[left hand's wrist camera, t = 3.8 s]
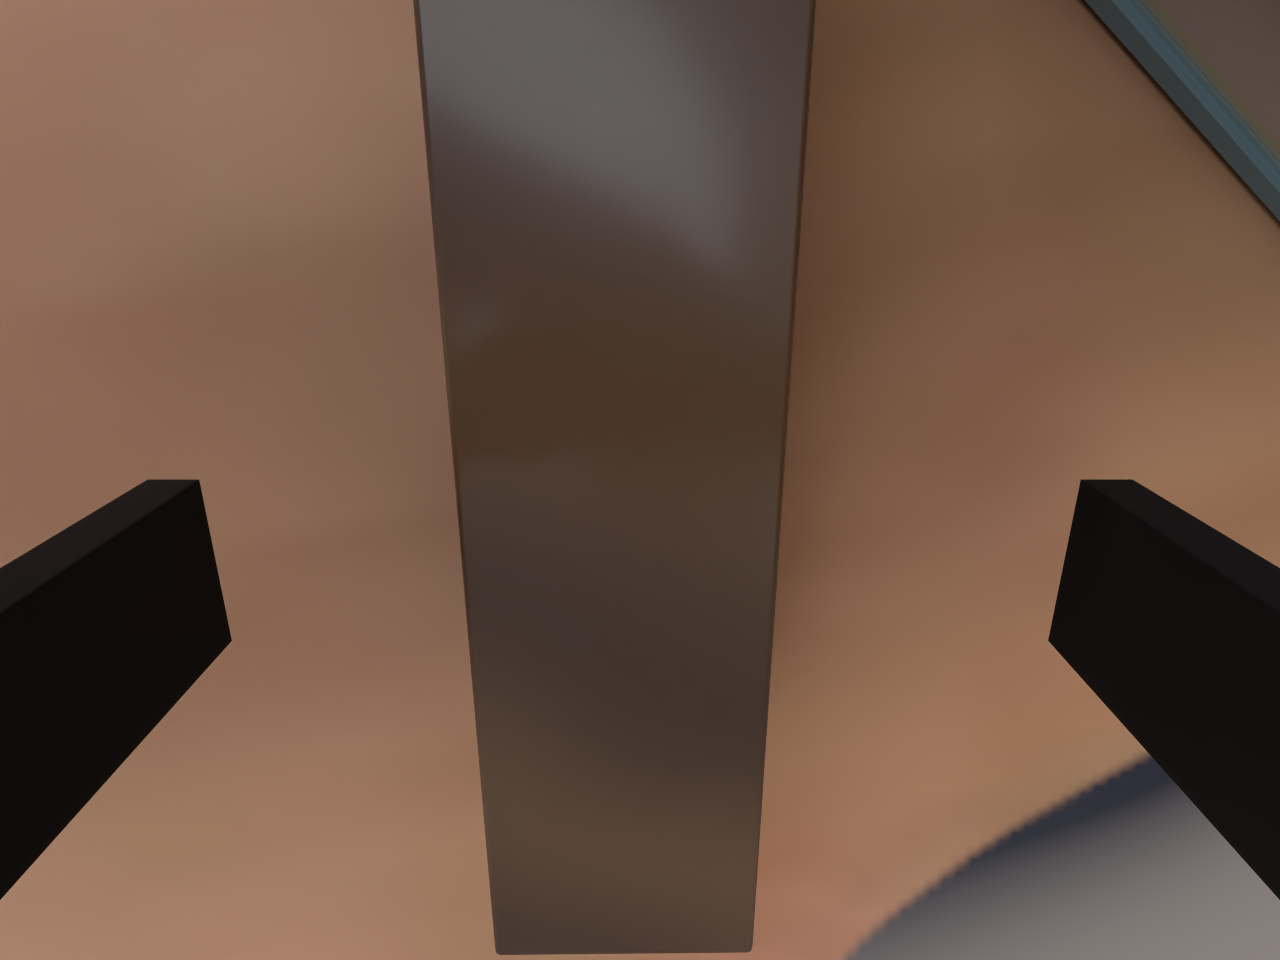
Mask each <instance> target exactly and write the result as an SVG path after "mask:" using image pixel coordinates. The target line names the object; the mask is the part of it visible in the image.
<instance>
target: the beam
mask: <svg viewBox="0 0 1280 960" xmlns="http://www.w3.org/2000/svg"><path fill="white" fill-rule="evenodd" d="M413 4H414V16H415V28H416V39H417V51H418V62H419V74H420V85H421V97H422V108H423V120H424V131H425V143H426V154H427V166H428V178H429V189H430V201H431V212H432V224H433V235H434V247H435V258H436V270H437V281H438V293H439V304H440V316H441V328H442V339H443V351H444V362H445V374H446V385H447V397H448V408H449V420H450V431H451V443H452V454H453V466H454V478H455V489H456V501H457V512H458V524H459V535H460V547H461V558H462V570H463V581H464V593H465V604H466V616H467V628H468V639H469V651H470V662H471V674H472V685H473V697H474V708H475V720H476V731H477V743H478V754H479V766H480V778H481V789H482V801H483V812H484V824H485V835H486V847H487V858H488V870H489V881H490V893H491V905H492V916H493V928H494V939H495V949H496V952H497V954H499V955H536V954H629V953H723V952H749V951H751V948H752V942H753V928H754V913H755V898H756V883H757V868H758V853H759V838H760V824H761V809H762V794H763V779H764V764H765V749H766V734H767V719H768V705H769V690H770V675H771V660H772V645H773V630H774V615H775V600H776V586H777V571H778V556H779V541H780V526H781V511H782V496H783V481H784V467H785V452H786V437H787V422H788V407H789V392H790V377H791V363H792V348H793V333H794V318H795V303H796V288H797V273H798V258H799V244H800V229H801V214H802V199H803V184H804V169H805V154H806V139H807V125H808V110H809V95H810V80H811V65H812V50H813V35H814V20H815V6H816V0H413Z"/></svg>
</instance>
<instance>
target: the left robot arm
mask: <svg viewBox="0 0 1280 960" xmlns="http://www.w3.org/2000/svg"><path fill="white" fill-rule="evenodd" d="M231 641H232V640H231V635H230V630H229V625H228V620H227V615H226V610H225V605H224V600H223V595H222V590H221V585H220V580H219V575H218V571H217V566H216V561H215V556H214V551H213V546H212V541H211V536H210V531H209V526H208V521H207V516H206V511H205V506H204V501H203V496H202V492H201V487H200V482H199V480H146V481H145V482H143V483H141V484H140V485H138V486H136V487H135V488H133V489H131V490H130V491H128V492H126V493H125V494H123V495H121V496H120V497H118V498H116V499H115V500H113V501H111V502H110V503H108V504H106V505H105V506H103V507H101V508H100V509H98V510H96V511H95V512H93V513H91V514H90V515H88V516H86V517H85V518H83V519H81V520H80V521H78V522H76V523H75V524H73V525H71V526H70V527H68V528H66V529H65V530H63V531H61V532H60V533H58V534H57V535H55V536H53V537H52V538H50V539H48V540H47V541H45V542H43V543H42V544H40V545H38V546H37V547H35V548H33V549H32V550H30V551H28V552H27V553H25V554H23V555H22V556H20V557H18V558H17V559H15V560H13V561H12V562H10V563H8V564H7V565H5V566H3V567H2V568H0V899H1V898H2V897H3V896H4V895H5V894H6V893H7V892H8V891H9V889H10V888H11V887H12V886H13V885H14V884H15V883H16V882H17V880H18V879H19V878H20V877H21V876H22V875H23V874H24V873H25V871H26V870H27V869H28V868H29V867H30V866H31V865H32V864H33V863H34V861H35V860H36V859H37V858H38V857H39V856H40V855H41V854H42V852H43V851H44V850H45V849H46V848H47V847H48V846H49V845H50V843H51V842H52V841H53V840H54V839H55V838H56V837H57V836H58V835H59V833H60V832H61V831H62V830H63V829H64V828H65V827H66V826H67V824H68V823H69V822H70V821H71V820H72V819H73V818H74V817H75V815H76V814H77V813H78V812H79V811H80V810H81V809H82V808H83V807H84V805H85V804H86V803H87V802H88V801H89V800H90V799H91V798H92V796H93V795H94V794H95V793H96V792H97V791H98V790H99V789H100V788H101V786H102V785H103V784H104V783H105V782H106V781H107V780H108V779H109V777H110V776H111V775H112V774H113V773H114V772H115V771H116V770H117V768H118V767H119V766H120V765H121V764H122V763H123V762H124V761H125V760H126V758H127V757H128V756H129V755H130V754H131V753H132V752H133V751H134V749H135V748H136V747H137V746H138V745H139V744H140V743H141V742H142V740H143V739H144V738H145V737H146V736H147V735H148V734H149V733H150V732H151V730H152V729H153V728H154V727H155V726H156V725H157V724H158V723H159V721H160V720H161V719H162V718H163V717H164V716H165V715H166V714H167V712H168V711H169V710H170V709H171V708H172V707H173V706H174V705H175V704H176V702H177V701H178V700H179V699H180V698H181V697H182V696H183V695H184V693H185V692H186V691H187V690H188V689H189V688H190V687H191V686H192V685H193V683H194V682H195V681H196V680H197V679H198V678H199V677H200V676H201V674H202V673H203V672H204V671H205V670H206V669H207V668H208V667H209V665H210V664H211V663H212V662H213V661H214V660H215V659H216V658H217V657H218V655H219V654H220V653H221V652H222V651H223V650H224V649H225V648H226V646H227V645H228V644H229V643H230V642H231ZM1048 641H1049V642H1050V643H1051V644H1052V645H1053V646H1054V648H1055V649H1056V650H1057V651H1058V652H1059V653H1060V654H1061V655H1062V657H1063V658H1064V659H1065V660H1066V661H1067V662H1068V663H1069V664H1070V665H1071V667H1072V668H1073V669H1074V670H1075V671H1076V672H1077V673H1078V674H1079V676H1080V677H1081V678H1082V679H1083V680H1084V681H1085V682H1086V683H1087V685H1088V686H1089V687H1090V688H1091V689H1092V690H1093V691H1094V692H1095V693H1096V695H1097V696H1098V697H1099V698H1100V699H1101V700H1102V701H1103V702H1104V704H1105V705H1106V706H1107V707H1108V708H1109V709H1110V710H1111V711H1112V712H1113V714H1114V715H1115V716H1116V717H1117V718H1118V719H1119V720H1120V721H1121V723H1122V724H1123V725H1124V726H1125V727H1126V728H1127V729H1128V730H1129V732H1130V733H1131V734H1132V735H1133V736H1134V737H1135V738H1136V739H1137V740H1138V742H1139V743H1140V744H1141V745H1142V746H1143V747H1144V748H1145V749H1146V751H1147V752H1148V753H1149V754H1150V755H1151V756H1152V757H1153V758H1154V760H1155V761H1156V762H1157V763H1158V764H1159V765H1160V766H1161V767H1162V768H1163V770H1164V771H1165V772H1166V773H1167V774H1168V775H1169V776H1170V777H1171V779H1172V780H1173V781H1174V782H1175V783H1176V784H1177V785H1178V786H1179V787H1180V789H1181V790H1182V791H1183V792H1184V793H1185V794H1186V795H1187V796H1188V798H1189V799H1190V800H1191V801H1192V802H1193V803H1194V804H1195V805H1196V807H1197V808H1198V809H1199V810H1200V811H1201V812H1202V813H1203V814H1204V815H1205V817H1206V818H1207V819H1208V820H1209V821H1210V822H1211V823H1212V824H1213V826H1214V827H1215V828H1216V829H1217V830H1218V831H1219V832H1220V833H1221V835H1222V836H1223V837H1224V838H1225V839H1226V840H1227V841H1228V842H1229V843H1230V845H1231V846H1232V847H1233V848H1234V849H1235V850H1236V851H1237V852H1238V854H1239V855H1240V856H1241V857H1242V858H1243V859H1244V860H1245V861H1246V862H1247V864H1248V865H1249V866H1250V867H1251V868H1252V869H1253V870H1254V871H1255V873H1256V874H1257V875H1258V876H1259V877H1260V878H1261V879H1262V880H1263V882H1264V883H1265V884H1266V885H1267V886H1268V887H1269V888H1270V889H1271V890H1272V892H1273V893H1274V894H1275V895H1276V896H1277V897H1278V898H1279V899H1280V568H1278V567H1277V566H1275V565H1273V564H1272V563H1270V562H1268V561H1267V560H1265V559H1263V558H1262V557H1260V556H1258V555H1257V554H1255V553H1253V552H1252V551H1250V550H1248V549H1247V548H1245V547H1243V546H1242V545H1240V544H1238V543H1237V542H1235V541H1233V540H1232V539H1230V538H1228V537H1227V536H1225V535H1223V534H1222V533H1220V532H1219V531H1217V530H1215V529H1214V528H1212V527H1210V526H1209V525H1207V524H1205V523H1204V522H1202V521H1200V520H1199V519H1197V518H1195V517H1194V516H1192V515H1190V514H1189V513H1187V512H1185V511H1184V510H1182V509H1180V508H1179V507H1177V506H1175V505H1174V504H1172V503H1170V502H1169V501H1167V500H1165V499H1164V498H1162V497H1160V496H1159V495H1157V494H1155V493H1154V492H1152V491H1150V490H1149V489H1147V488H1145V487H1144V486H1142V485H1140V484H1139V483H1137V482H1135V481H1134V480H1081V482H1080V487H1079V492H1078V496H1077V501H1076V506H1075V511H1074V516H1073V521H1072V526H1071V531H1070V536H1069V541H1068V546H1067V551H1066V556H1065V561H1064V566H1063V571H1062V575H1061V580H1060V585H1059V590H1058V595H1057V600H1056V605H1055V610H1054V615H1053V620H1052V625H1051V630H1050V635H1049V640H1048Z"/></svg>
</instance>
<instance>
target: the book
mask: <svg viewBox="0 0 1280 960" xmlns="http://www.w3.org/2000/svg"><path fill="white" fill-rule="evenodd" d="M1085 1H1086V3H1087V4H1088V5H1089V6H1090V7H1091V8H1092V9H1093V10H1094V12H1095V13H1096V14H1097V15H1098V16H1099V17H1100V18H1101V20H1102V21H1103V22H1104V23H1105V24H1106V25H1107V26H1108V27H1109V29H1110V30H1111V31H1112V32H1113V33H1114V34H1115V35H1116V37H1117V38H1118V39H1119V40H1120V41H1121V42H1122V43H1123V44H1124V46H1125V47H1126V48H1127V49H1128V50H1129V51H1130V52H1131V54H1132V55H1133V56H1134V57H1135V58H1136V59H1137V60H1138V61H1139V63H1140V64H1141V65H1142V66H1143V67H1144V68H1145V69H1146V71H1147V72H1148V73H1149V74H1150V75H1151V76H1152V77H1153V78H1154V80H1155V81H1156V82H1157V83H1158V84H1159V85H1160V86H1161V88H1162V89H1163V90H1164V91H1165V92H1166V93H1167V94H1168V95H1169V97H1170V98H1171V99H1172V100H1173V101H1174V102H1175V103H1176V105H1177V106H1178V107H1179V108H1180V109H1181V110H1182V111H1183V113H1184V114H1185V115H1186V116H1187V117H1188V118H1189V119H1190V120H1191V122H1192V123H1193V124H1194V125H1195V126H1196V127H1197V128H1198V130H1199V131H1200V132H1201V133H1202V134H1203V135H1204V136H1205V137H1206V139H1207V140H1208V141H1209V142H1210V143H1211V144H1212V145H1213V147H1214V148H1215V149H1216V150H1217V151H1218V152H1219V153H1220V154H1221V156H1222V157H1223V158H1224V159H1225V160H1226V161H1227V162H1228V164H1229V165H1230V166H1231V167H1232V168H1233V169H1234V170H1235V171H1236V173H1237V174H1238V175H1239V176H1240V177H1241V178H1242V179H1243V181H1244V182H1245V183H1246V184H1247V185H1248V186H1249V187H1250V188H1251V190H1252V191H1253V192H1254V193H1255V194H1256V195H1257V196H1258V198H1259V199H1260V200H1261V201H1262V202H1263V203H1264V204H1265V205H1266V207H1267V208H1268V209H1269V210H1270V211H1271V212H1272V213H1273V215H1274V216H1275V217H1276V218H1277V219H1278V220H1279V221H1280V0H1085Z"/></svg>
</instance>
